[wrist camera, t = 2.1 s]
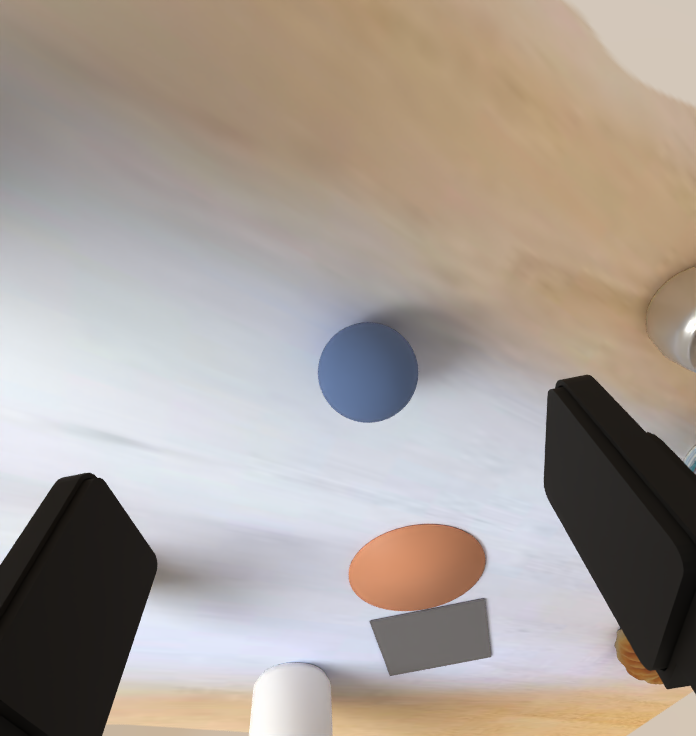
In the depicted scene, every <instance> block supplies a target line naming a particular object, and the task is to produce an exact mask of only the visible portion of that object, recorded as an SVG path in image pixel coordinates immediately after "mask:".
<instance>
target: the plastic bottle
mask: <svg viewBox="0 0 696 736" xmlns="http://www.w3.org/2000/svg"><path fill="white" fill-rule="evenodd" d="M646 330H647V334H648V336H649V338H650V339H651V341H652V342H653V343H654V344H655V346H656V347H657V348H658V349H659V350H660V352H661V353H662V354H663V355H664V356H665V357H667V358H668V359H670V360H672V361H673V362H675V363H677V364H679V365H681V366H683V367H684V368H686V369H688V370H691V371H693V372H695V373H696V267H692V268H690V269H687V270H685V271H682V272H680V273H679V274H677V275H675V276H674V277H672V278H671V279H670V280H668V281H667V282H666V283H665V284H664V285H663V286H662V287H661V288H660V289H659V290H658V291H657V292H656V294H655V295H654V296H653V298H652V300H651V302H650V304H649V306H648V309H647V315H646Z"/></svg>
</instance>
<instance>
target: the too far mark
mask: <svg viewBox="0 0 696 736" xmlns="http://www.w3.org/2000/svg"><path fill="white" fill-rule="evenodd" d="M370 624H371V626H372V629H373V632H374V634H375V637H376V640H377V642H378V645H379V648H380V650H381V653H382V656H383V658H384V661H385V664H386V666H387V669H388V672H389V674H390V676H393V675H398V674H404V673H409V672H414V671H419V670H425V669H430V668H435V667H441V666H446V665H451V664H457V663H462V662H467V661H473V660H478V659H483V658H488V657H491V650H490V642H489V633H488V624H487V615H486V607H485V599H484V598H483V599H478V600H473V601H468V602H463V603H458V604H453V605H447V606H442V607H437V608H432V609H427V610H422V611H417V612H412V613H407V614H402V615H397V616H391V617H386V618H381V619H376V620H371V621H370Z"/></svg>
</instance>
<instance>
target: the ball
mask: <svg viewBox="0 0 696 736" xmlns="http://www.w3.org/2000/svg"><path fill="white" fill-rule="evenodd" d="M318 379H319V384H320V388H321V390H322V393H323V395H324V397H325V399H326V400H327V402H328V403H329V404H330V405H331V407H332V408H333V409H335V410H336V411H337V412H338V413H340V414H341V415H342V416H344V417H346V418H349V419H351V420H354V421H358V422H367V423H370V422H378V421H382V420H385V419H388V418H390V417H392V416H394V415H395V414H397V413H398V412H399V411H401V410H402V409H403V408H404V407H405V406H406V405H407V403H408V402H409V401H410V399H411V397H412V395H413V394H414V391H415V389H416V385H417V381H418V364H417V360H416V356H415V354H414V351H413V349H412V348H411V346H410V344H409V343H408V342H407V341H406V339H405V338H404V337H403V336H402V335H401V334H399V333H398V332H397V331H395V330H394V329H392V328H390V327H388V326H385V325H382V324H378V323H359V324H354V325H351V326H349V327H346V328H344V329H343V330H341V331H339V332H338V333H337V334H336V335H334V336H333V337H332V338H331V340H330V341H329V342H328V343H327V345H326V346H325V348H324V350H323V352H322V355H321V357H320V361H319V367H318Z"/></svg>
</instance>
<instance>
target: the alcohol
mask: <svg viewBox="0 0 696 736" xmlns="http://www.w3.org/2000/svg"><path fill="white" fill-rule="evenodd" d="M249 736H332V706H331V684H330V681H329V679H328V678H327V676H326V674H325V673H324V671H323V670H322V669H320V668H319V667H317V666H314V665H311V664H307V663H284V664H279V665H276V666H273V667H271V668H269V669H267V670H265V671H264V672H263V673H262V674H261V675H260V677H259V678H258V680H257V682H256V683H255V685H254V689H253V699H252V709H251V720H250V730H249Z"/></svg>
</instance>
